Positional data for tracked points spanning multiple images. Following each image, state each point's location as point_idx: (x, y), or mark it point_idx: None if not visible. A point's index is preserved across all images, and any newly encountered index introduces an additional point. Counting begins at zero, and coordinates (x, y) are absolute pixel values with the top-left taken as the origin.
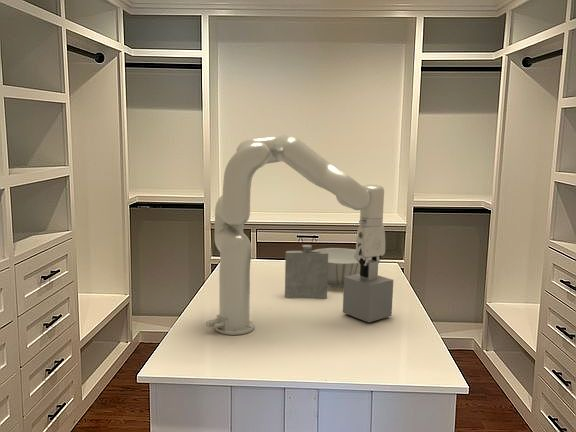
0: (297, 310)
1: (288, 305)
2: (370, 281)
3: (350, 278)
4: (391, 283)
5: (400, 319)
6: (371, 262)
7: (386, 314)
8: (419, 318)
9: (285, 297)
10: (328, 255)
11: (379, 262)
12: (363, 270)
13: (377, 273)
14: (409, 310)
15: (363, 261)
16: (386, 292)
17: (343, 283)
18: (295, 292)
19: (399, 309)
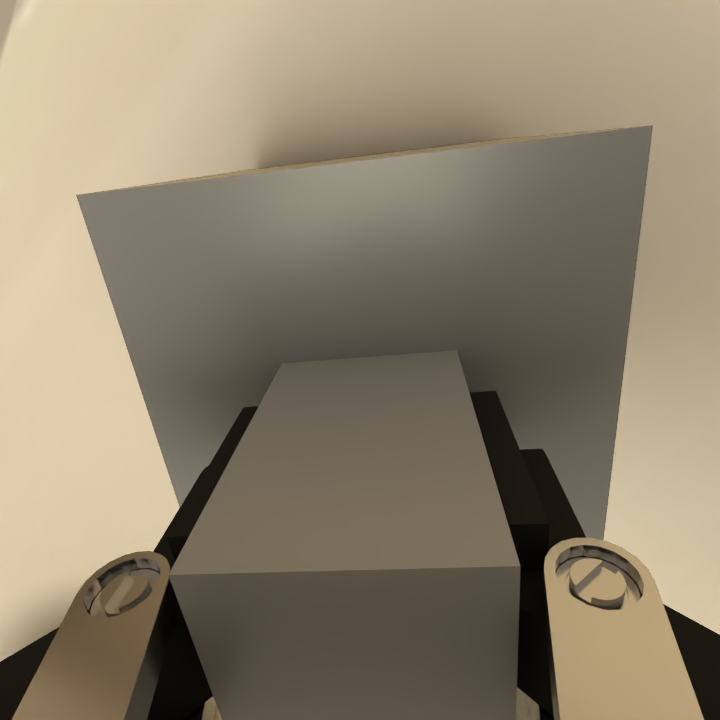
0: (658, 555)
1: None
2: (471, 303)
3: (592, 529)
4: (143, 186)
5: (207, 110)
6: (418, 582)
7: (302, 163)
8: (55, 47)
9: None
10: None
11: (97, 570)
12: (559, 500)
13: (243, 415)
14: (39, 232)
15: (704, 687)
16: (271, 169)
17: None
18: (524, 706)
19: (96, 283)
